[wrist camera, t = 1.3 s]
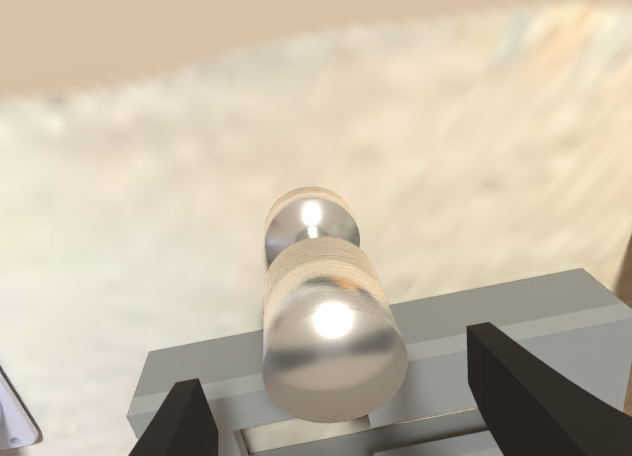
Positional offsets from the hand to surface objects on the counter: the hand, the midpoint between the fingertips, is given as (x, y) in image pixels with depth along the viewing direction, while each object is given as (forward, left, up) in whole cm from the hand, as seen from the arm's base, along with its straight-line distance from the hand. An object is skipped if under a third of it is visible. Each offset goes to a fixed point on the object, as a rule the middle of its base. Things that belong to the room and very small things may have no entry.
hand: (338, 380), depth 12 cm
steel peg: (0, 0, -9) cm, 9 cm away
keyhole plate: (+2, -10, -9) cm, 14 cm away
